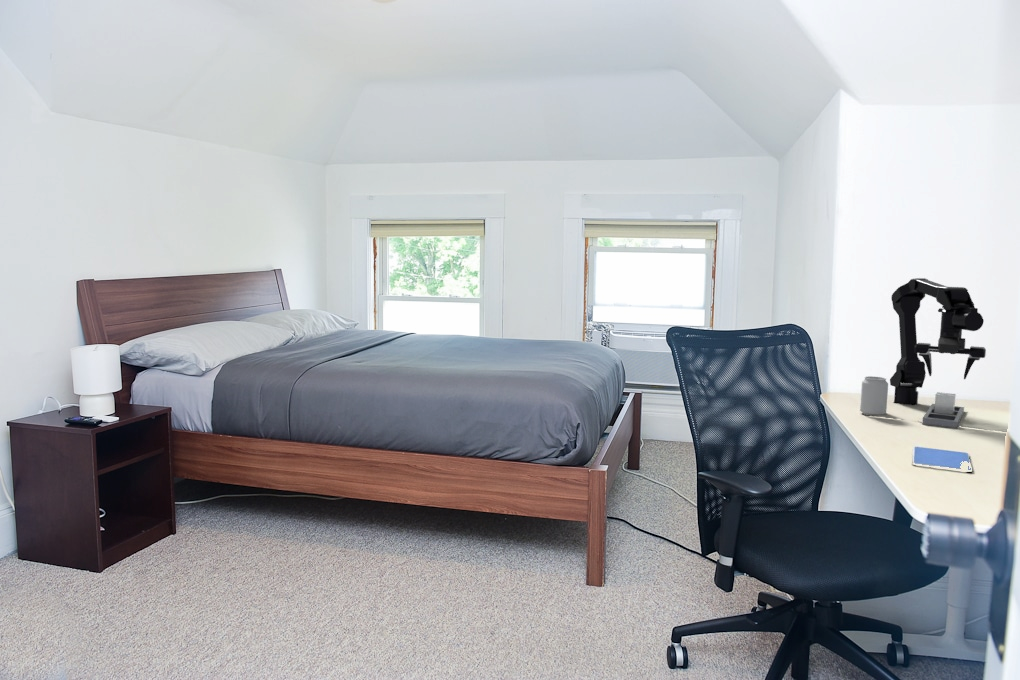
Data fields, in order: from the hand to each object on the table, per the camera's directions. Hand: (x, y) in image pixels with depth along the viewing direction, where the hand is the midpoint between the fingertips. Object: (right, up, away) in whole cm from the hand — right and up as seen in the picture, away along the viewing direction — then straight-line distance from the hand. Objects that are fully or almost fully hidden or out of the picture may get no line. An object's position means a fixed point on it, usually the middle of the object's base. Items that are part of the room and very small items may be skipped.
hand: (947, 377), depth 226 cm
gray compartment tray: (-1, -13, +1) cm, 13 cm away
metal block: (-1, -12, +1) cm, 12 cm away
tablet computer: (-30, -19, -47) cm, 59 cm away
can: (-20, -12, +6) cm, 24 cm away
